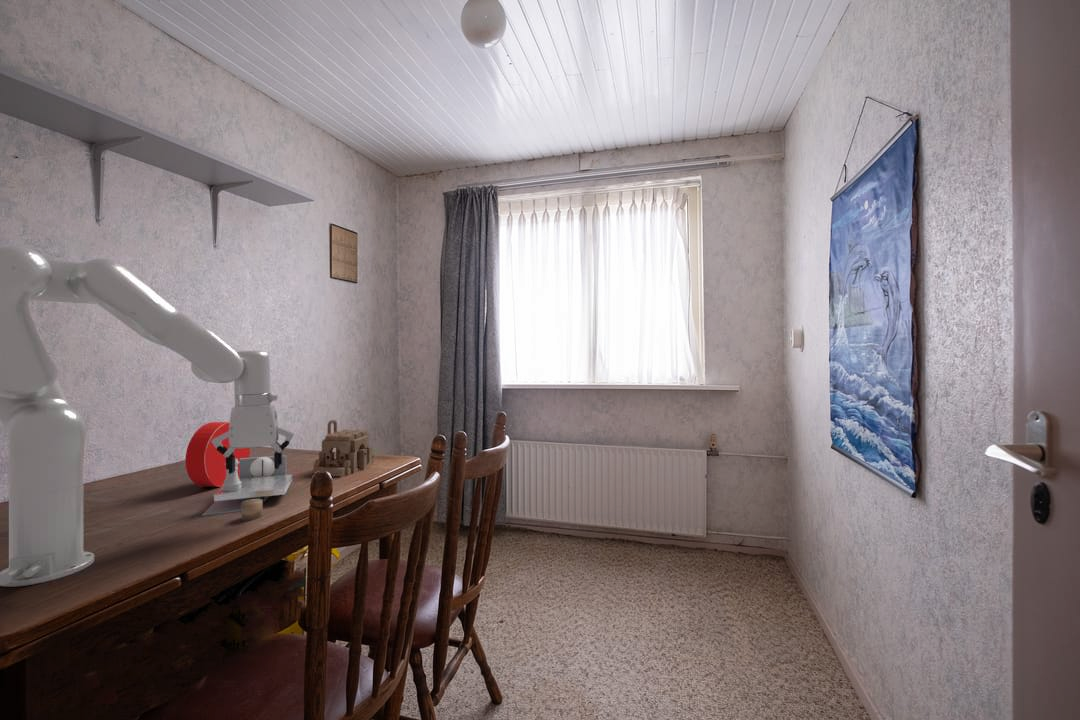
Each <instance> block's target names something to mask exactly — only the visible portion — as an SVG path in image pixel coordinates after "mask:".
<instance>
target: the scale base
mask: <svg viewBox="0 0 1080 720" xmlns="http://www.w3.org/2000/svg"><path fill="white" fill-rule="evenodd" d="M280 475H287V455H282V465H280V466H279V468H278V469H275V466H274V455H273V456H272V455H271V456H258V457H249V458H240V459H239V479H243V478H256V477H268V476H280ZM269 497H270V496H265V498H264V499H262V500H263V503H264V502H265V501H267V499H268V498H269ZM246 500H248V498H241V499H231V500H220V501H214V502H213V503H212V504H211V505H210V506H209V507H208V508H207V509H206V510H204V512H203V513H202V515H201V516H202V517H207V516H212V515H219V514H228V513H235V512H241V503H242V502H243V501H246Z"/></svg>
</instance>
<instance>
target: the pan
mask: <svg viewBox="0 0 1080 720" xmlns="http://www.w3.org/2000/svg"><path fill="white" fill-rule="evenodd" d="M239 481H241V486H242V487H241V488H240V489H239V490H236V491H230V492H225V491H223V490H222V488H223V487H220V488H219V490H217V491H216V492H215V493H214V494H213V501H214V502H215V501H220V500H231V499H241V498H248V500H250V499H264V498H265V496H269V497H272V496H273V497H274V496H280V495H283V496H284V495H286V493H287V491H288V489H289V487H290V486H291V484H292V481H293V474H286V475H280V476H268V477H256V478H243V479H240V480H239Z"/></svg>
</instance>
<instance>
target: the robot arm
mask: <svg viewBox="0 0 1080 720" xmlns="http://www.w3.org/2000/svg"><path fill="white" fill-rule="evenodd" d="M30 301H41V302H42V301H43V302H56V303H70V304H74V303H75V304H91V305H92V304H97V305H98V306H99V307H101V308H102V309H104V310H105V311H106V312H108V313H109V314H111V315H112V316H113V317H115V318H116V319H118V320H119V321H120V322H122V323H123V324H124V325H125V326H127V327H128V328H129V329H131V330H132V331H134V332H135V333H136V334H138V336H140V337H142V338H143V339H145V340H147V341H150V342H152V343H154V344H157V345H158V346H159V345H160V346H162V347H165V348H167V349H169V350H170V351H172V352H174V353H176V354H178V355H180V356H181V357H183V358H184V359H185V360H187V361H188V362H190V363H191V364H190V365H191V367H190V368H191V371H192V374H193V376H195V377H196V378H197V379H199V380H201V381H203V382H207V383H216V384H217V383H218V384H229V383H232V382H233V385H234V387H233V389H234V406H233V407H231V411H230V417H229V422H230V423H229V431H228V432H226V433H224V434H222V435H220V436H218V437H216V438H214V439H213V440H212V443H213V445H214V446H215V447H216V449H217V451H219V452H220V453H221V454H223V455H224V457H226V470H229V474H231V473H233V472H234V471H235V455H233V452H234V451H235V450H236V449H239V448H250V449H251V448H262V447H271V448H272V449H274V454H273V456H274V466H275V469H278V468H279V466H280V465H282V456H283V451H284V450H285V449H286V448H287V447H288V446H289V445H290V443H291V441H292V440H293V438H294V435H295V434H294V432H292V431H289V430H286V429H283V428H280V427H279V423H278V416H277V409H276V406H275V405H274V404H272V402H275V401H278V395H277V394H276V395H274V394H272V392H271V367H270V366H271V365H270V364H271V363H270V362H271V361H270V355H269V353H268V352H267V351H264V350H241V351H240V350H239V351H237V352H236V350H234V348H232V347H231V346H229V345H228V344H227V343H226V342H225V341H224V340H222V339H221V338H220V337H218V336H217V335H216V334H215V333H213V332H212V331H210V330H209V329H207V327H204V326H203V325H202V324H200V323H199V322H197V321H195V320H194V319H192V317H190V316H188V315H187V314H185V313H183V312H182V311H181V310H179V309H177V308H176V307H175V306H174V305H172V304H171V303H169V302H168V301H167V300H165V298H163V297H162V296H161V295H160V294H158V292H156V291H154V289H152V288H151V287H149V285H147V284H146V283H145V282H143V281H142V280H141V279H140V278H138V277H137V275H135V274H134V273H132V271H130V270H129V269H128V268H126V267H125V266H123V265H122V264H120V263H119V262H117V261H114V260H112V259H108V258H94V259H90V260H87V261H84V262H76V261H75V262H71V261H63V260H54V259H47V258H45V257H44V256H43V255H41V254H40V253H38V252H37V251H35V250H33V249H30V248H28V247H24V246H19V245H6V246H5V245H4V246H0V421H1V424H2V425H3V426H2V427H3V428H4V429H5V431H6V432H7V436H8V448H9V449H8V450H9V451H8V453H9V454H8V567H7V568H5V569H3V570H2V571H0V587H9V588H10V587H11V588H13V587H15V588H16V587H24V586H29V585H31V586H32V585H38V584H41V583H46V582H47V583H48V582H49V581H54V580H57V579H58V580H59V579H60V578H65V577H67V576H70V575H73V574H75V573H77V572H78V573H79V572H80V571H81V570H84V569H86V568H88V567H90V565H92V564H93V563H94V562H95V554H94V553H93V552H90V551H85V550H84V454H85V446H86V424H85V420H84V418H83V416H82V414H80V413H79V412H78V411H77V410H76V408H73V407H71V406H70V404H69V401H68V400H67V398H66V395H65V392H64V391H63V389H62V387H61V385H60V383H59V379H58V370H57V366H56V364H55V362H54V361H53V359H52V358H51V356H50V355H49V353H48V351H47V349H46V348H45V345H44V343H43V341H42V339H41V337H40V334H39V332H38V331H37V327H36V325H35V322H34V320H33V318H32V315H31V312H30V310H29V309H30V308H29V303H30ZM279 435H280V436H284V437H285V440H284V441H283V442H282V443H280V442H278V441H279ZM228 437H229V446H230V448H229V449H227V448H226V447H224V446H223V445H222V443H221V441H222V440H224V439H226V438H228Z"/></svg>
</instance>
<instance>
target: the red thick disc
mask: <svg viewBox="0 0 1080 720" xmlns="http://www.w3.org/2000/svg"><path fill="white" fill-rule="evenodd" d="M229 423H230V421H216V422H215V421H213V422H211V421H210V422H208V423H205V424H203V425H201V426H200V427H199V428H198V429H197V430H196V431H195V432H194V434H193V435H192V436H191V439H190V441H189V442H188V444H187V448H186V452H185V470H186V473H187V475H188V478H189V480H191V482H192V483H194V484H195V485H197V486H199V487H203V488H204V487H208V488H209V487H210V488H212V487H214V488H216V487H217V488H218V487H219V488H222V487H223V486H222V484H223V483H224V481H225V479H226V465H225V463H226V457H224V455H223V454H221V453H220V452H219V451H217V449H216V447H215V446H214V445H213V443H212V440H213V439H214V438H216V437H218V436H220V435H222V434H224V433H226V432H228V431H229ZM221 443H222V445H223V446H224V447H226V448H227V449H229V448H230V446H229V437H228V438H226V439H224V440H222V441H221ZM250 453H251V448H239V449H236V450H235V451H234V452H233V455H235V459H238V462H239V459H240V458H250ZM237 467H238V469H237V473H238V478H239V464H238V465H237Z"/></svg>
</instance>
